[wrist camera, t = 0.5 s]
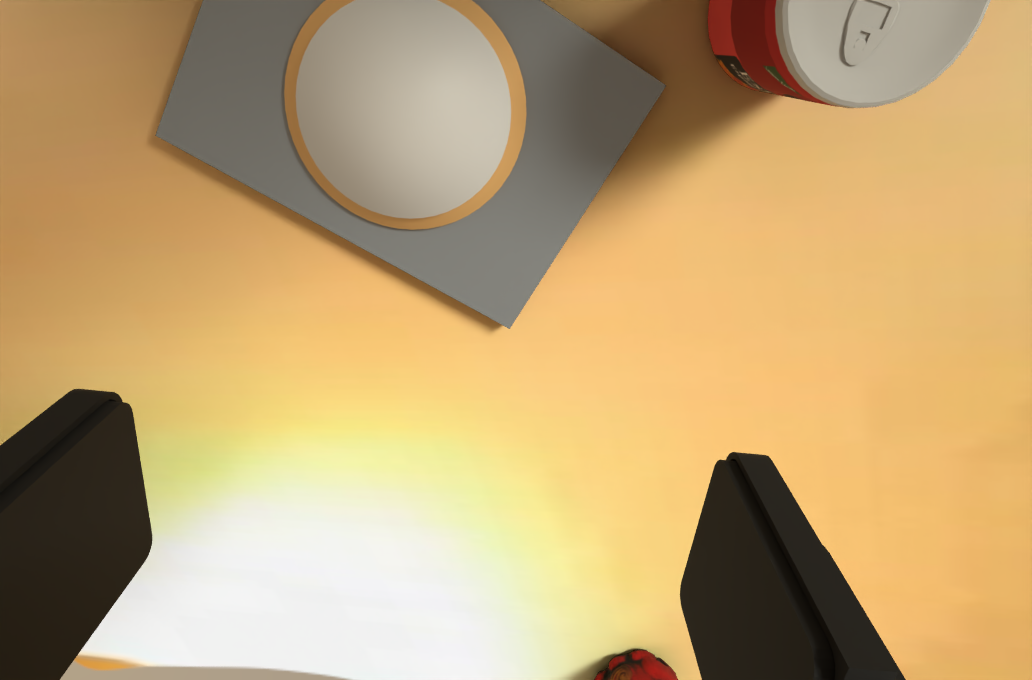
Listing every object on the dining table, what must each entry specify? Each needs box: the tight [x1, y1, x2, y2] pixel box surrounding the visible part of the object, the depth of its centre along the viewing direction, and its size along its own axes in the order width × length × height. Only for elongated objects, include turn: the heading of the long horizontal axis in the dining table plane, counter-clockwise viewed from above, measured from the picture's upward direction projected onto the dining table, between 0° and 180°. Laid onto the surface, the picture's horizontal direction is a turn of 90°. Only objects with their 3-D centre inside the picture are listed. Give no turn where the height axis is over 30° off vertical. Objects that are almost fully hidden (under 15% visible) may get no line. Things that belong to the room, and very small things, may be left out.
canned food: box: [708, 0, 990, 108], centre depth 28 cm, size 8×8×11 cm
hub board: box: [155, 0, 666, 329], centre depth 34 cm, size 16×22×2 cm
